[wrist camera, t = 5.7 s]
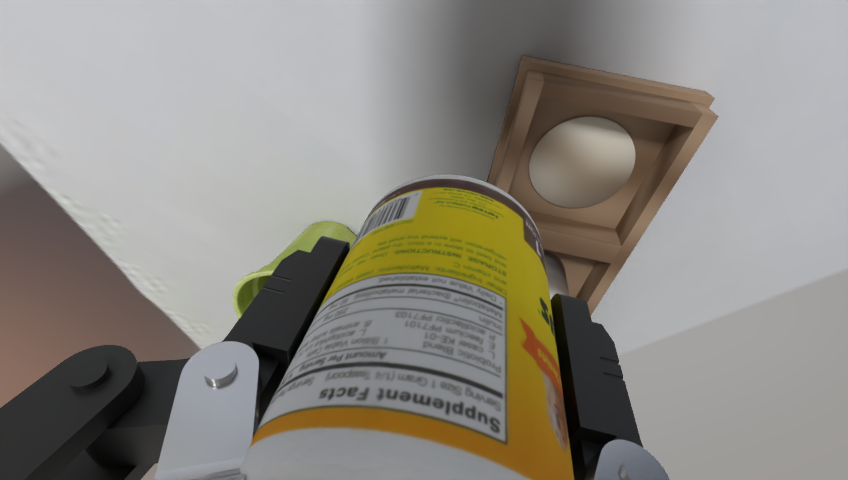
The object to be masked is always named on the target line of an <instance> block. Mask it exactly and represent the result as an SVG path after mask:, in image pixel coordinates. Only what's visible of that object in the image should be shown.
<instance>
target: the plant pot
mask: <svg viewBox="0 0 848 480" xmlns="http://www.w3.org/2000/svg"><path fill="white" fill-rule="evenodd" d="M321 236H326V237H330V238H334V239H338V240H342V241H346V242H349V243H350V249H351V247H352V245H353V243H354V241H355V240H356V238H357V236H356V235H355V234H353V233H352V232H351V231H350V230H349V229H348V228H347V227H346V226H344V225H342V224H339V223H335V222H327V221H326V222H318V223H315V224H313V225H311V226H310V227H308V228H307V229H306V230H305V231H304V232H303V233H302V234H301V235H300V236H299V237H298V238H297V239H296V240H295V241H294V242H293V243H292V244H290V245H289V246H288V247H287V248H286V249H285V250H284V251H283V252H282V253H281V254H280V255H279V256H278V257H277V258H276V259H275V260H274V261H273V262H271V263H270V264H269V265H267V266H265V267H263V268H261V269H260V270H259V271H256V272H253V273H250V274H248V275H247V276H245V277H244V278H242V279H241V280H240V281H239V283H238V284H237V285H236V287H235V289H234V291H233V306H234V309H235V312H236V314H237V316H238V318H239V319H240V317H241V316H242V315H243V313H244V312H245V310H246V309H247V308H248V306H249V305H250V304H251V302H252V301H253V299H254V298H255V297H256V295H257V294H258V292H259V291H260V290H262V288H263V285H264V284H265V283H266V281H267V280H268V279H269V278H270V277H271V274H272V273H273V272H274V270H275V269H276V267H277V266H278V265H279V263H280V262H281V260H283V259H284V258H286V257H287V256H289V255H291V254H292V253H294V252H295V251H297V250H302V251H306V252H311V250H312V249H313V247H314V246H315V244H316V243H317V241H318V240H319V238H320V237H321Z"/></svg>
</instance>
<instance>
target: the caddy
mask: <svg viewBox="0 0 848 480" xmlns="http://www.w3.org/2000/svg"><path fill="white" fill-rule="evenodd" d="M714 99H715V98H714V97H713V96H711V95H710V94H709V93H707V92H706V91H700V90H695V89H690V88H685V87H680V86H675V85H670V84H665V83H660V82H655V81H649V80H644V79H639V78H634V77H629V76H624V75H619V74H614V73H609V72H603V71H598V70H593V69H588V68H583V67H578V66H573V65H568V64H563V63H558V62H552V61H547V60H542V59H537V58H532V57H527V56H522V59H521V63H520V66H519V70H518V73H517V77H516V80H515V84H514V87H513V91H512V95H511V98H510V102H509V105H508V109H507V112H506V116H505V119H504V123H503V127H502V130H501V134H500V137H499V141H498V144H497V148H496V151H495V155H494V158H493V162H492V166H491V169H490V173H489V176H488V180H487V183H489V184H492V185H494V186H496V187H497V188H499V189H501V190H503V191H504V192H506V193H507V194H509V195H510V196H512V197H513V198H514V199H515V200H516V201H517V202H519V203H520V204H521V205H522V206H523V208H524V209H525V210H526V211H527V212H528V214H529V215H530V217H531V218H532V220H533V222H534V223H535V225H536V227H537V229H538V232H539V235H540V237H541V241H542V246H543V250H544V256H545V263H546V271H547V279H548V286H549V294H550V300H551V299H552V297H553V296H554V295H555V294H556V293H558V294H562V295H566V296H570V297H574V298H578V299H583V300H585V301H586V302H587V304H588V308H589V312H590V316H591V314H592V313H593V311H594V310H595V308H596V307H597V305H598V304H599V302H600V300H601V299H602V297H603V296H604V294H605V293H606V291H607V289H608V288H609V286H610V285H611V283H612V282H613V280H614V279H615V277H616V275H617V274H618V272H619V271H620V269H621V268H622V266H623V265H624V263H625V261H626V260H627V258H628V257H629V255H630V254H631V252H632V251H633V249H634V247H635V246H636V244H637V243H638V241H639V240H640V238H641V237H642V235H643V233H644V232H645V230H646V229H647V227H648V226H649V224H650V222H651V221H652V219H653V218H654V216H655V215H656V213H657V212H658V210H659V208H660V207H661V205H662V204H663V202H664V201H665V199H666V198H667V196H668V194H669V193H670V191H671V190H672V188H673V187H674V185H675V184H676V182H677V180H678V179H679V177H680V176H681V174H682V173H683V171H684V169H685V168H686V166H687V165H688V163H689V162H690V160H691V159H692V157H693V155H694V154H695V152H696V151H697V149H698V148H699V146H700V145H701V143H702V141H703V140H704V138H705V137H706V135H707V134H708V132H709V131H710V129H711V127H712V126H713V124H714V123H715V121H716V120H717V118H718V116H717V115H716V114H715V113H714V112H713V111H711V110H710V109H709V107H710V105H711V104H712V102H713V100H714Z"/></svg>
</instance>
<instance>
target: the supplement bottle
mask: <svg viewBox="0 0 848 480" xmlns="http://www.w3.org/2000/svg"><path fill="white" fill-rule="evenodd" d="M240 472H241V473H243V474H245V475H246V478H245V480H574V474H573V466H572V458H571V450H570V443H569V436H568V428H567V421H566V413H565V406H564V398H563V391H562V383H561V376H560V368H559V361H558V354H557V343H556V337H555V330H554V324H553V316H552V309H551V301H550V294H549V286H548V279H547V271H546V263H545V256H544V250H543V246H542V241H541V237H540V235H539V232H538V229H537V227H536V225H535V223H534V222H533V220H532V218H531V217H530V215H529V214H528V212H527V211H526V210H525V209H524V208H523V206H522V205H521V204H520V203H519V202H517V201H516V200H515V199H514V198H513V197H512V196H510V195H509V194H507V193H506V192H504V191H503V190H501V189H499V188H497V187H496V186H494V185H492V184H489V183H487V182H484V181H481V180H478V179H475V178H471V177H466V176H460V175H432V176H426V177H421V178H418V179H415V180H411V181H409V182H406V183H404V184H402V185H400V186H398V187H396V188H395V189H393V190H392V191H390V192H389V193H388V194H386V195H385V196H384V197H383V198H382V199H381V200H380V201H379V202H378V203H377V204H376V205H375V207H374V208H373V209H372V211H371V212H370V214H369V216H368V217H367V219H366V221H365V223H364V224H363V226H362V228H361V230H360V232H359V234H358V236H357V238H356V240H355V241H354V243H353V245H352V247H351V249H350V250H349V252H348V254H347V256H346V258H345V260H344V262H343V264H342V265H341V267H340V270H339V272H338V273H337V275H336V277H335V279H334V281H333V283H332V285H331V287H330V288H329V290H328V292H327V294H326V296H325V298H324V300H323V302H322V304H321V306H320V308H319V310H318V312H317V314H316V316H315V318H314V319H313V321H312V324H311V325H310V327H309V329H308V331H307V333H306V335H305V337H304V339H303V341H302V343H301V344H300V346H299V348H298V350H297V352H296V354H295V356H294V358H293V360H292V362H291V364H290V366H289V367H288V369H287V371H286V373H285V375H284V377H283V379H282V381H281V383H280V385H279V387H278V389H277V391H276V392H275V394H274V396H273V398H272V400H271V402H270V404H269V406H268V408H267V410H266V412H265V413H264V415H263V417H262V419H261V421H260V423H259V425H258V427H257V429H256V431H255V434H254V437H253V440H252V442H251V444H250V447H249V449H248V451H247V453H246V455H245V457H244V459H243V462H242V464H241V467H240Z"/></svg>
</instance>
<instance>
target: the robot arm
mask: <svg viewBox="0 0 848 480" xmlns="http://www.w3.org/2000/svg"><path fill="white" fill-rule="evenodd" d="M349 250H350V243H349V242H346V241H342V240H338V239H334V238H330V237H326V236H321V237H320V238H319V240H318V241H317V243H316V244H315V246H314V247H313V249H312V250H311V252H306V251H302V250H297V251H295V252H294V253H292V254H291V255H289V256H287V257H286V258H284V259H283V260H281V262H280V263H279V265H278V266H277V267H276V269H275V270H274V272H273V273H272V274H271V277H270V278H269V279H268V280H267V281H266V283H265V284H264V285H263V288H262V290H260V291H259V292H258V294H257V295H256V297H255V298H254V299H253V301H252V302H251V304H250V305H249V306H248V308H247V309H246V310H245V312H244V313H243V315H242V316H241V317H240V319H239V320H238V322H237V323H236V324H235V326H234V327H233V329H232V330H231V331H230V333H229V334H228V335H227V337H226V338H225V339H224V340H223V341H222V342H219V343H216V344H212V345H210V346H207V347H205V348H204V349H202V350H200V351H199V352H197V353H196V354H195V355H194V356H193V357H191V358H188V359H182V360H167V361H148V362H137V360H136V358H135V356H134V354H133V353H132V352H131V351H130V350H128V349H126V348H124V347H121V346H116V345H104V346H97V347H93V348H89V349H86V350H83V351H81V352H79V353H76V354H74V355H73V356H71V357H69V358H68V359H66V360H64V361H63V362H62V363H60V364H59V365H57V366H56V367H55V368H53V369H52V370H51V371H50V372H48V373H47V374H45V375H44V376H43V377H41V378H40V379H39V380H37V381H36V382H35V383H33V384H32V385H31V386H29V387H28V388H27V389H25V390H24V391H23V392H21V393H20V394H19V395H18V396H16V397H15V398H13V399H12V400H11V401H10V402H8V403H7V404H5V405H4V406H3V407H1V408H0V480H140V479H141V478H142V477H143V476H144V475H145V474H146V473H147V471H148V470H149V469H150V468H151V467H152V466H153V465H154V464H155V463H158V466H157V470H156V474H155V477H154V480H245V478H246V475H245V474H243V473H241V472H240V467H241V464H242V462H243V459H244V457H245V455H246V453H247V451H248V449H249V447H250V444H251V442H252V440H253V437H254V434H255V431H256V429H257V427H258V425H259V423H260V421H261V419H262V417H263V415H264V413H265V412H266V410H267V408H268V406H269V404H270V402H271V400H272V398H273V396H274V394H275V392H276V391H277V389H278V387H279V385H280V383H281V381H282V379H283V377H284V375H285V373H286V371H287V369H288V367H289V366H290V364H291V362H292V360H293V358H294V356H295V354H296V352H297V350H298V348H299V346H300V344H301V343H302V341H303V339H304V337H305V335H306V333H307V331H308V329H309V327H310V325H311V324H312V321H313V319H314V318H315V316H316V314H317V312H318V310H319V308H320V306H321V304H322V302H323V300H324V298H325V296H326V294H327V292H328V290H329V288H330V287H331V285H332V283H333V281H334V279H335V277H336V275H337V273H338V272H339V270H340V267H341V265H342V264H343V262H344V260H345V258H346V256H347V254H348V252H349ZM550 301H551V309H552V316H553V324H554V330H555V337H556V343H557V354H558V361H559V368H560V376H561V383H562V391H563V398H564V406H565V413H566V421H567V428H568V436H569V443H570V450H571V458H572V466H573V474H574V480H670V479H669V477H668V475H667V473H666V472H665V470H664V468H663V467H662V466H661V464H660V463H659V462H658V461H657V460H656V459H655V457H654V456H652V455H651V454H650V453H649V452H648V451H647V450H645V449H644V448H643V446H642V443H641V440H640V436H639V433H638V429H637V425H636V422H635V418H634V414H633V411H632V407H631V403H630V400H629V396H628V392H627V389H626V385H625V382H624V381H623V374H622V370H621V367H620V365H618V363H619V359H618V356H617V352H616V348H615V344H614V342H613V340H612V339H611V337H610V336H609V334H608V333H607V332H606V330H605V329H604V327H603V326H602V324H598V323H594V322H592V321H591V316H590V312H589V308H588V304H587V302H586V301H585V300H583V299H578V298H574V297H570V296H566V295H562V294H558V293H556V294H555V295H554V296H553V297H552V299H551V300H550Z"/></svg>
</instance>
